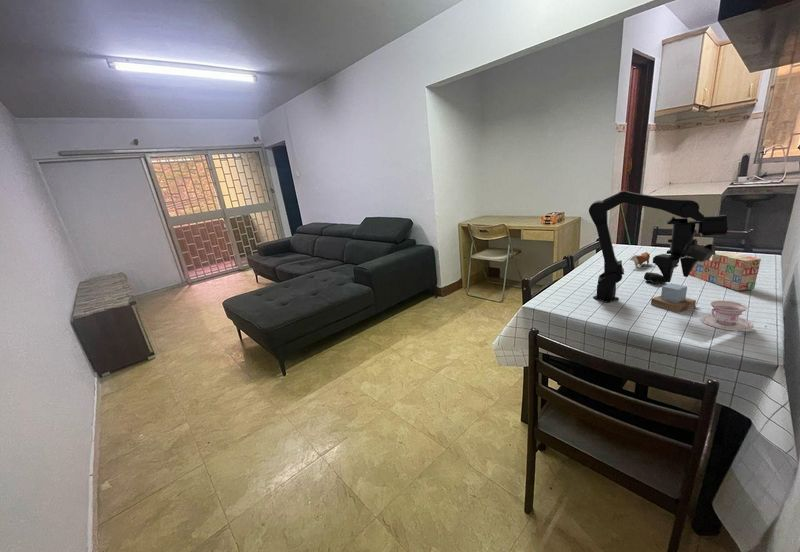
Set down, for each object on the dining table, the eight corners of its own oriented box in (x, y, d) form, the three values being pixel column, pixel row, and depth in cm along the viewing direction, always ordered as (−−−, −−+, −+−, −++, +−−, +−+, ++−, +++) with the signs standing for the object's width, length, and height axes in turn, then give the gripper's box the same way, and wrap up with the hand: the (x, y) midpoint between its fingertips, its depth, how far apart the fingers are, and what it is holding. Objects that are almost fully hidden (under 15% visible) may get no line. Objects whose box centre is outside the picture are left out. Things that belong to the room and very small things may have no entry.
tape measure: (650, 283, 134) (653, 275, 133) (639, 279, 141) (641, 271, 140) (666, 285, 134) (669, 277, 133) (653, 280, 141) (656, 272, 140)
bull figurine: (626, 270, 157) (627, 254, 155) (642, 264, 162) (644, 249, 160) (635, 271, 153) (637, 255, 151) (652, 266, 158) (654, 250, 156)
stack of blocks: (688, 275, 141) (692, 248, 138) (701, 273, 141) (706, 247, 138) (738, 291, 121) (745, 260, 117) (755, 289, 121) (761, 258, 117)
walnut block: (677, 314, 110) (679, 306, 109) (650, 305, 118) (651, 298, 118) (694, 308, 113) (696, 300, 112) (667, 300, 121) (668, 293, 120)
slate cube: (676, 302, 112) (678, 289, 110) (660, 298, 116) (662, 286, 115) (685, 299, 113) (687, 286, 112) (669, 295, 118) (671, 283, 117)
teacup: (725, 313, 106) (728, 296, 104) (765, 329, 95) (770, 310, 93) (689, 317, 106) (692, 300, 104) (726, 334, 95) (729, 315, 93)
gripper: (691, 244, 98) (685, 291, 102) (730, 234, 103) (722, 279, 108) (653, 239, 108) (649, 282, 113) (690, 231, 114) (684, 272, 118)
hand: (676, 279), depth 112 cm, fingers open, 9 cm apart
